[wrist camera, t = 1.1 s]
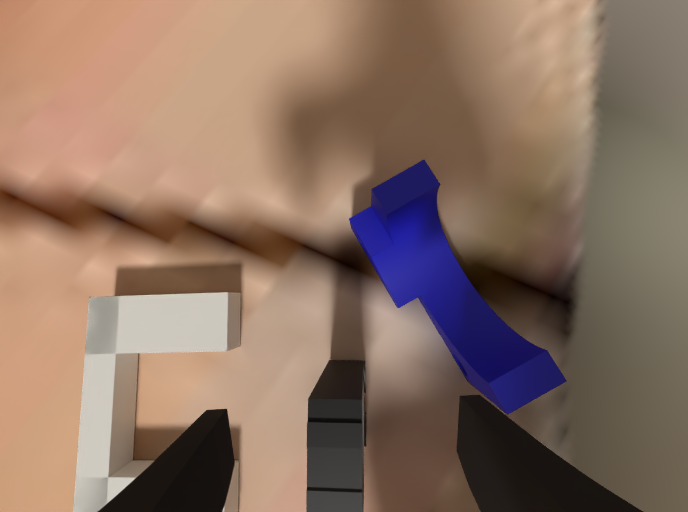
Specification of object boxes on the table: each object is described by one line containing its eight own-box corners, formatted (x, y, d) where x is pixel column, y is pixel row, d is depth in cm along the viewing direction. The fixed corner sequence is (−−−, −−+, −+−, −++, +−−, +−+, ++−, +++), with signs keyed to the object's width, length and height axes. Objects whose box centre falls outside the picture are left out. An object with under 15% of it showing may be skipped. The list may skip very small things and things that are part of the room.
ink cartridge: (366, 441, 20) (365, 540, 12) (329, 439, 20) (305, 536, 12) (365, 359, 20) (364, 402, 13) (330, 358, 21) (307, 400, 13)
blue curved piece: (351, 229, 22) (345, 203, 16) (409, 196, 22) (424, 159, 16) (445, 391, 20) (477, 430, 14) (508, 356, 20) (566, 381, 14)
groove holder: (238, 521, 20) (223, 546, 18) (99, 519, 20) (71, 543, 18) (240, 292, 22) (228, 292, 20) (114, 297, 22) (89, 297, 20)
